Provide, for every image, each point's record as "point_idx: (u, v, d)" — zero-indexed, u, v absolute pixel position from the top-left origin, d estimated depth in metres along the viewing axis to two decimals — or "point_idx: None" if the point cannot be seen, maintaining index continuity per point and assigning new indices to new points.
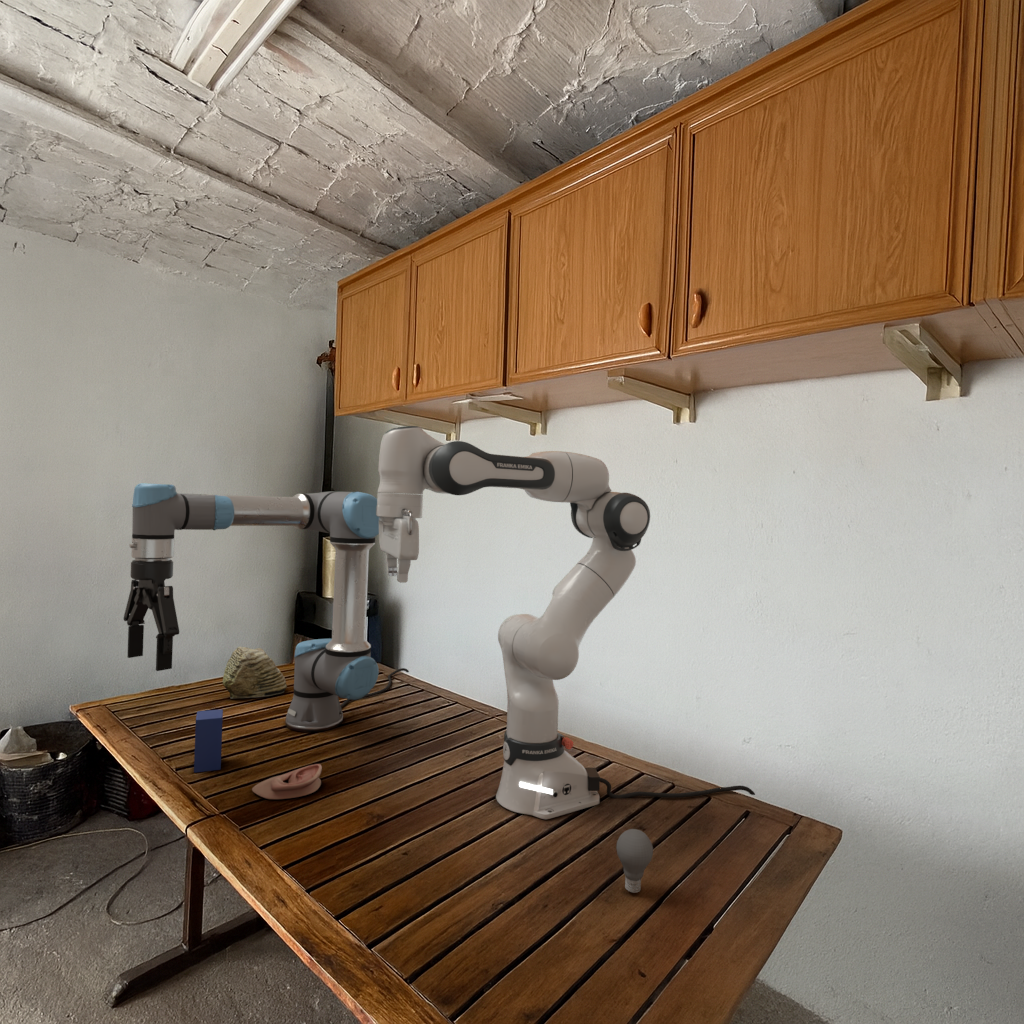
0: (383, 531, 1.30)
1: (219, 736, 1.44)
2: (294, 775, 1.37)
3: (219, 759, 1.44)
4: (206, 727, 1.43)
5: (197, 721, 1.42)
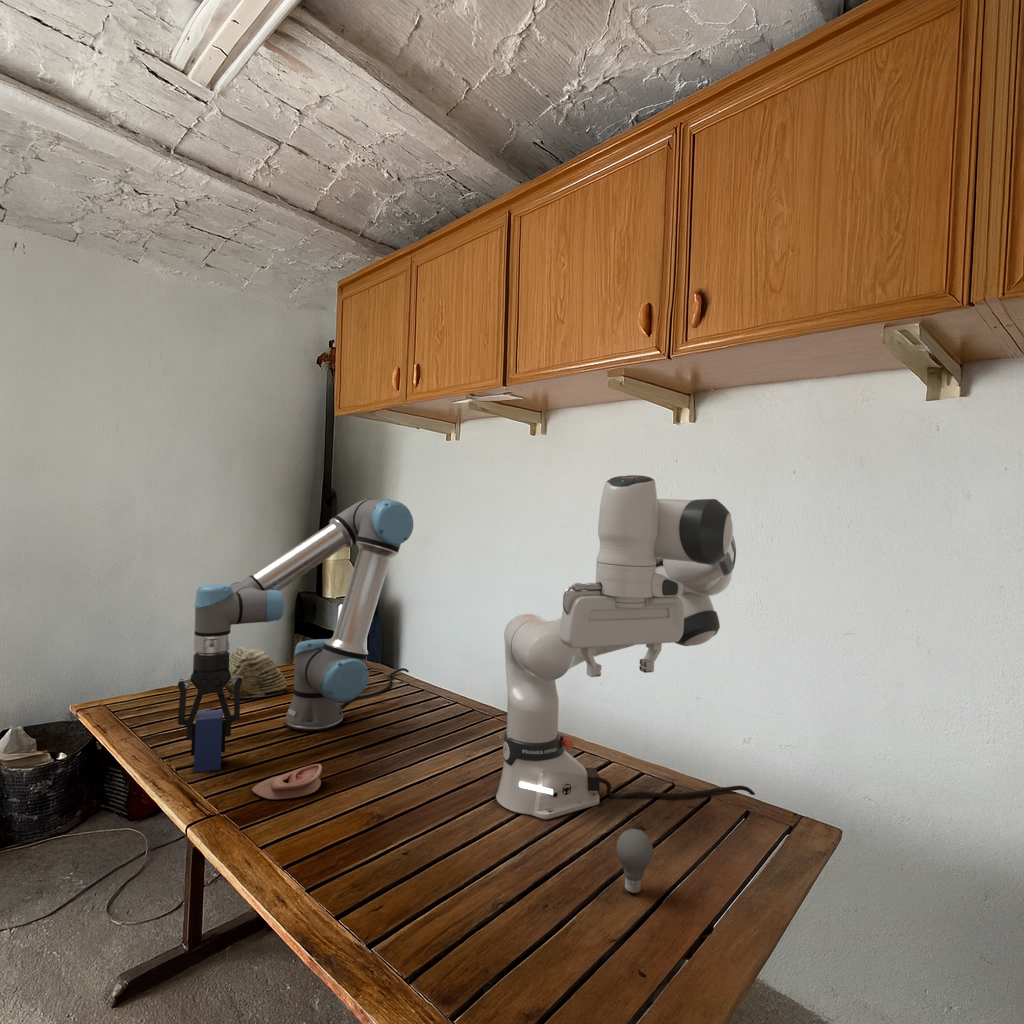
0: None
1: (219, 736, 1.44)
2: (294, 775, 1.37)
3: (219, 759, 1.44)
4: (206, 727, 1.43)
5: (197, 721, 1.42)
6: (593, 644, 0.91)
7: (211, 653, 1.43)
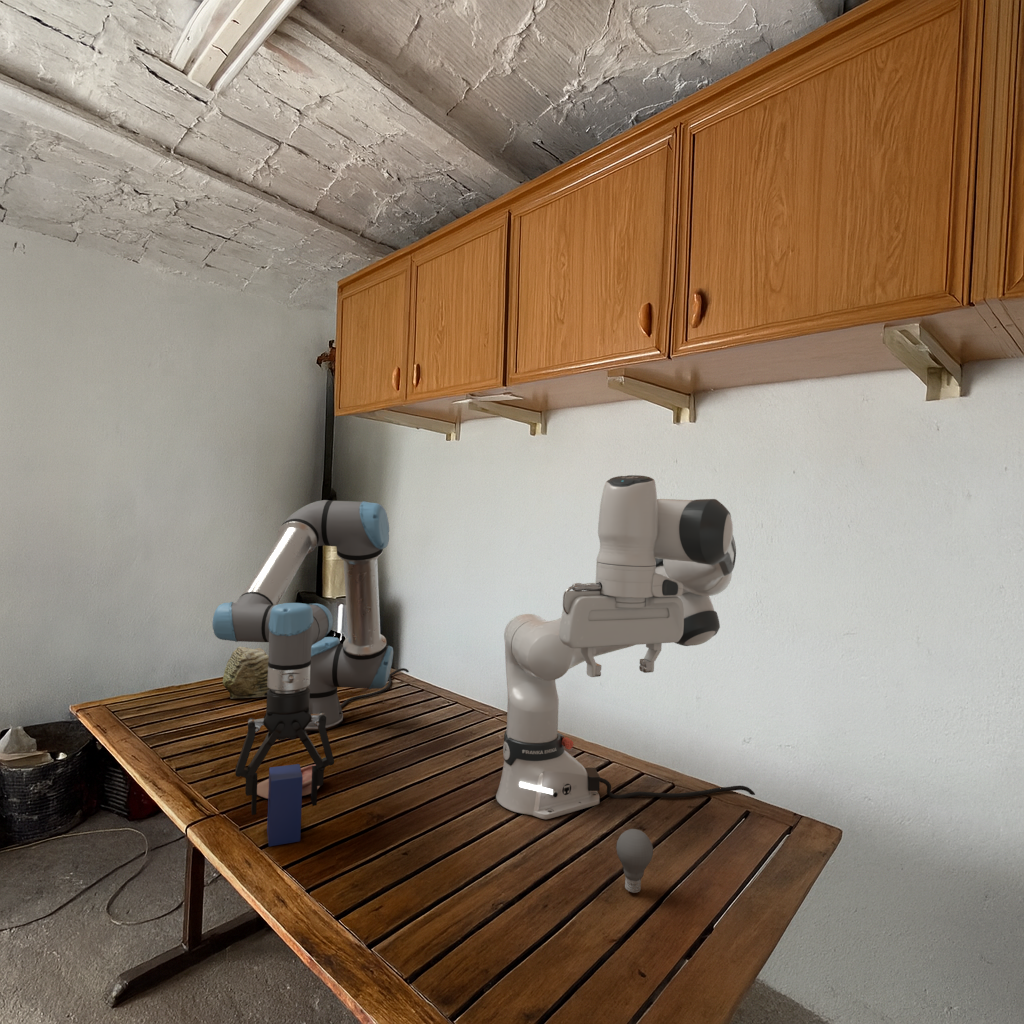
0: None
1: (299, 800, 1.16)
2: None
3: (298, 828, 1.16)
4: (284, 789, 1.15)
5: (273, 782, 1.14)
6: (593, 644, 0.91)
7: (290, 690, 1.14)
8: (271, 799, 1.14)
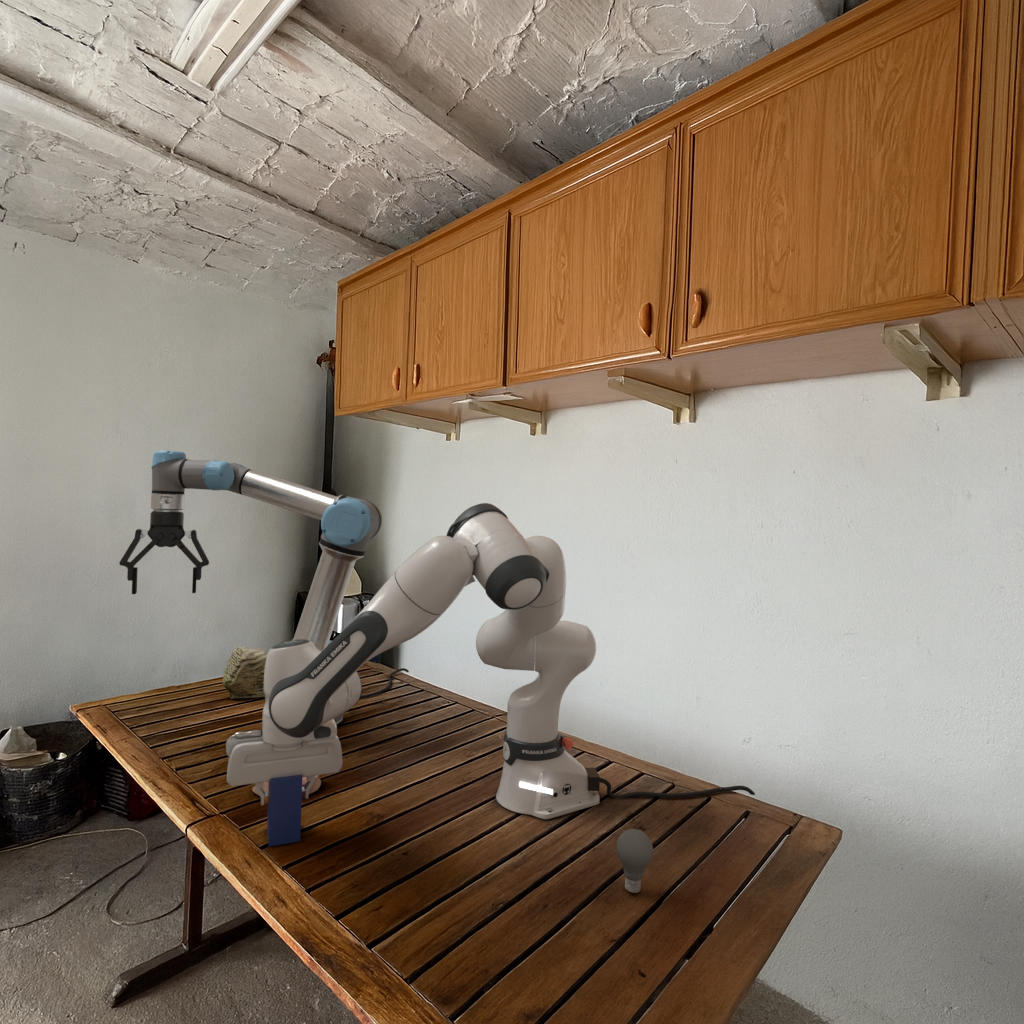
0: None
1: (299, 800, 1.16)
2: None
3: (298, 828, 1.16)
4: (283, 789, 1.15)
5: (272, 782, 1.14)
6: (250, 782, 1.14)
7: (166, 509, 1.60)
8: (271, 799, 1.14)
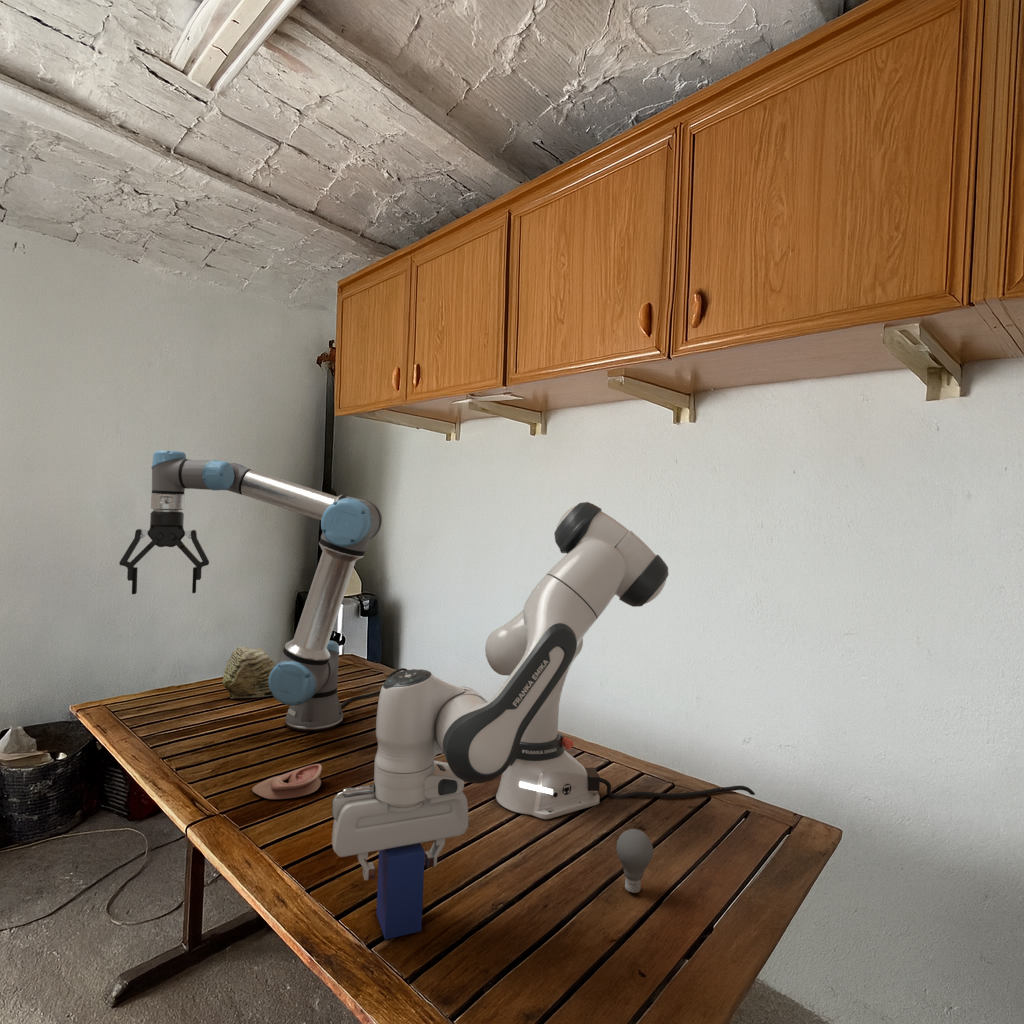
0: None
1: (420, 880, 0.93)
2: (294, 775, 1.37)
3: (420, 915, 0.94)
4: (403, 867, 0.92)
5: (390, 860, 0.92)
6: (362, 851, 0.91)
7: (166, 509, 1.60)
8: (388, 881, 0.92)
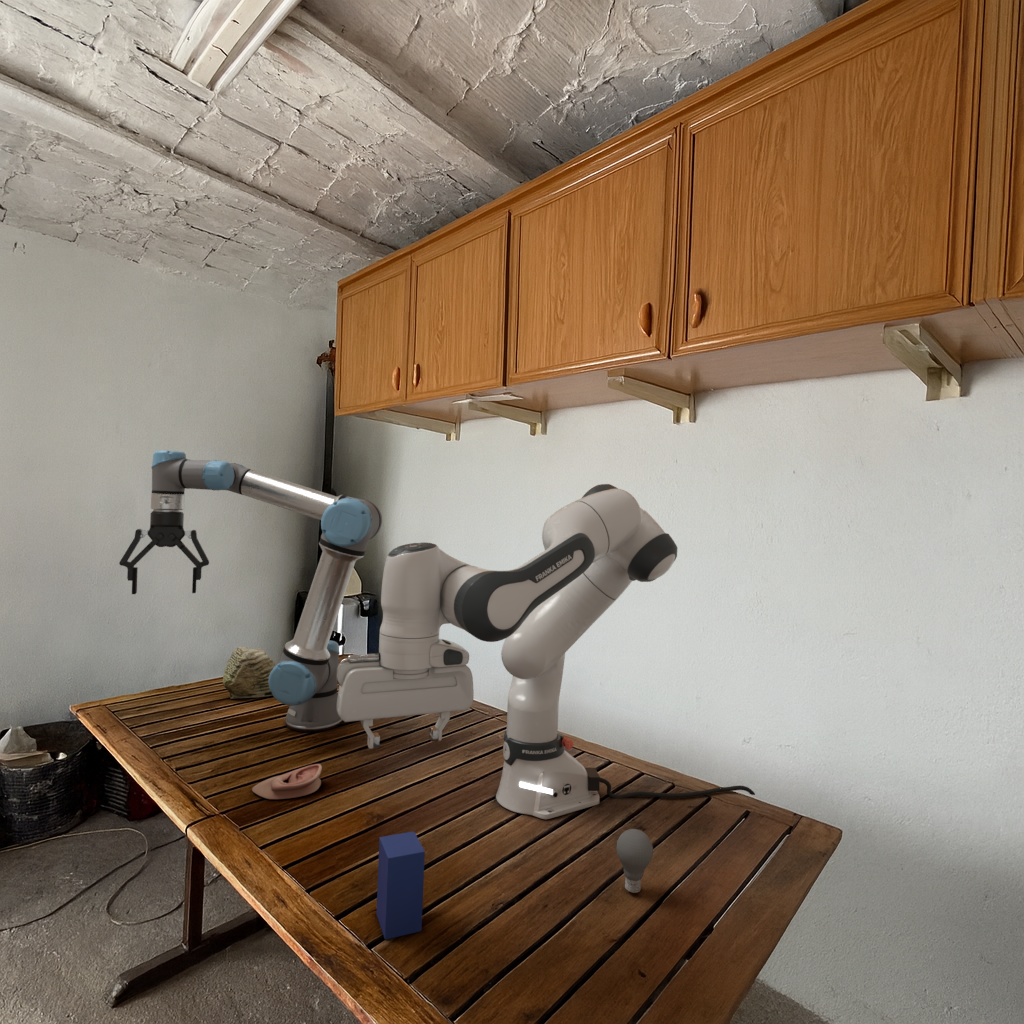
0: None
1: (420, 880, 0.93)
2: (294, 775, 1.37)
3: (420, 915, 0.94)
4: (403, 867, 0.92)
5: (390, 860, 0.92)
6: (367, 717, 0.91)
7: (166, 509, 1.60)
8: (388, 881, 0.92)
